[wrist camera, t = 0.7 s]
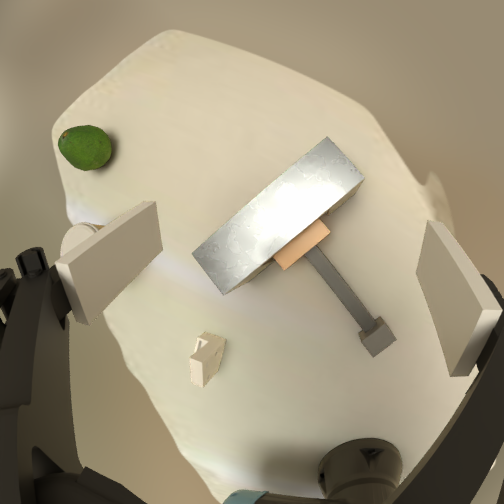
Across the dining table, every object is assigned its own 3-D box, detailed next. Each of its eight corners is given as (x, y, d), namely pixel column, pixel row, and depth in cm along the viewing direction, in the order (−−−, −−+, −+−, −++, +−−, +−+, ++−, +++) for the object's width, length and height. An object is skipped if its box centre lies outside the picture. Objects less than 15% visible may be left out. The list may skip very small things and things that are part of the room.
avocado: (125, 160, 50) (80, 144, 39) (95, 181, 52) (49, 172, 40) (115, 125, 51) (73, 106, 39) (86, 147, 52) (43, 133, 41)
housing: (355, 193, 42) (364, 177, 31) (248, 281, 46) (223, 295, 35) (327, 161, 42) (327, 136, 31) (223, 250, 46) (191, 253, 35)
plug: (399, 325, 41) (412, 341, 33) (361, 354, 42) (367, 376, 34) (306, 206, 43) (302, 199, 36) (269, 237, 45) (257, 237, 37)
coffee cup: (121, 288, 51) (75, 299, 40) (99, 243, 52) (52, 245, 40) (157, 261, 49) (112, 267, 38) (133, 214, 50) (86, 208, 38)
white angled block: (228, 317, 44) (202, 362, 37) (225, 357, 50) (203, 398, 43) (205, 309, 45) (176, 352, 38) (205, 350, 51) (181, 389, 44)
